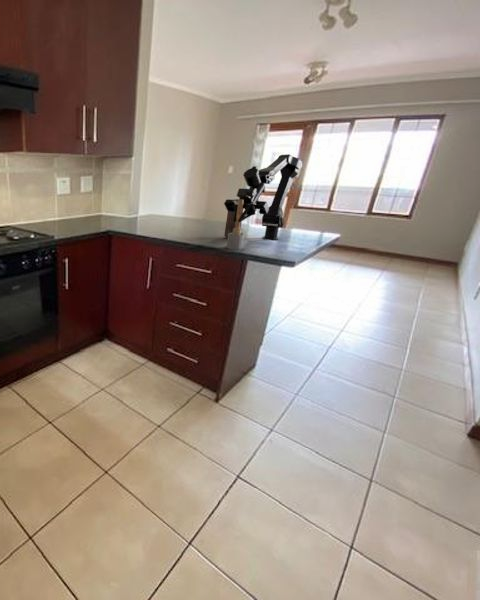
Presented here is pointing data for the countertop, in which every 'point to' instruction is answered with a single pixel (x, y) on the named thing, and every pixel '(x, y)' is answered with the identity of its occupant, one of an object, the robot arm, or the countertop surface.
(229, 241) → the grey cube
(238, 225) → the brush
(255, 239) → the countertop surface
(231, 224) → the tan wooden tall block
